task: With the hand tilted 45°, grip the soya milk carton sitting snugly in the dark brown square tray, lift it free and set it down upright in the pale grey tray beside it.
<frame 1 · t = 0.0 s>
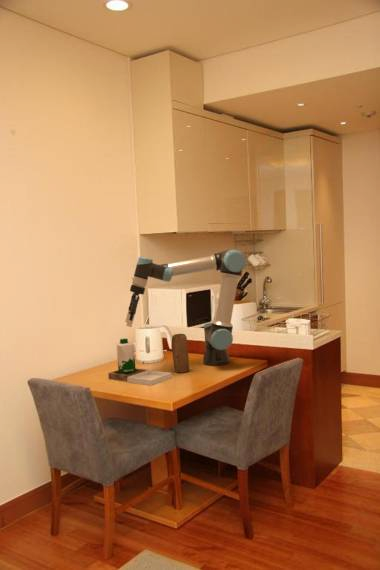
hand: (128, 324, 286), 28 cm above the table, tool tilted 20°, fingers open, 13 cm apart
block: (181, 371, 294), on the table
soya milk: (127, 377, 288), resting in dark brown square tray
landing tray: (149, 379, 279), on the table
dark brown square tray: (127, 376, 288), on the table
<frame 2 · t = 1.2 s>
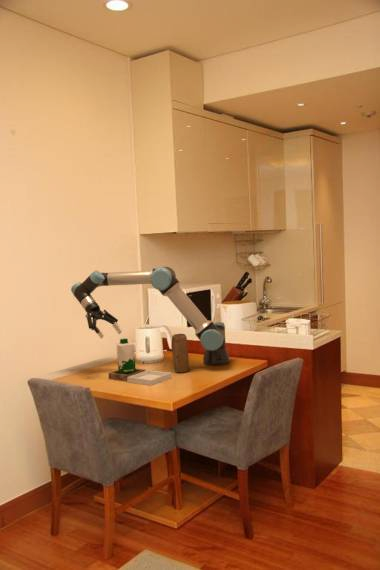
hand: (111, 334, 292), 22 cm above the table, tool tilted 45°, fingers open, 13 cm apart
nothing on the table moved.
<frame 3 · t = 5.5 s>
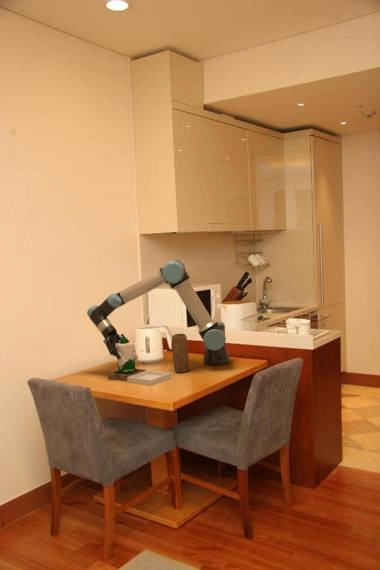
hand: (130, 361, 285), 9 cm above the table, tool tilted 45°, fingers closed on soya milk, 9 cm apart
soya milk: (127, 377, 288), resting in dark brown square tray, touching gripper
everything else where it was.
when the fingers open (11 cm above the table, at t = 11.5 s): soya milk drops 1 cm, resting on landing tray.
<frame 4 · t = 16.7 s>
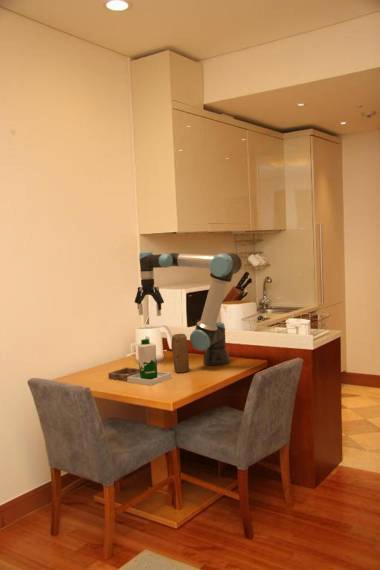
hand: (149, 315, 312), 29 cm above the table, tool pointing down, fingers open, 13 cm apart
soya milk: (148, 379, 278), resting on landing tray
everything else where it was.
at the end: soya milk inside the target area on the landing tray (0.4 cm from its centre), point 0.4 cm above the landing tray's base; soya milk tilted 0°; the gripper is holding nothing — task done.
